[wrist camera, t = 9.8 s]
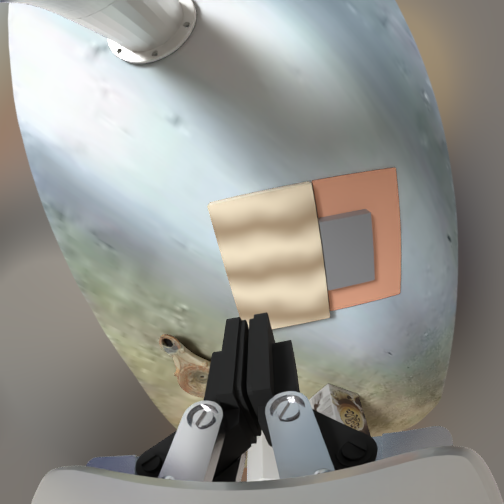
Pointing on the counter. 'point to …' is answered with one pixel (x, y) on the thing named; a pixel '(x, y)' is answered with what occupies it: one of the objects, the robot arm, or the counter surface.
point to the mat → (383, 227)
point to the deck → (273, 254)
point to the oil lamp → (187, 366)
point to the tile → (347, 248)
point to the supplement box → (261, 461)
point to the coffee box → (340, 407)
